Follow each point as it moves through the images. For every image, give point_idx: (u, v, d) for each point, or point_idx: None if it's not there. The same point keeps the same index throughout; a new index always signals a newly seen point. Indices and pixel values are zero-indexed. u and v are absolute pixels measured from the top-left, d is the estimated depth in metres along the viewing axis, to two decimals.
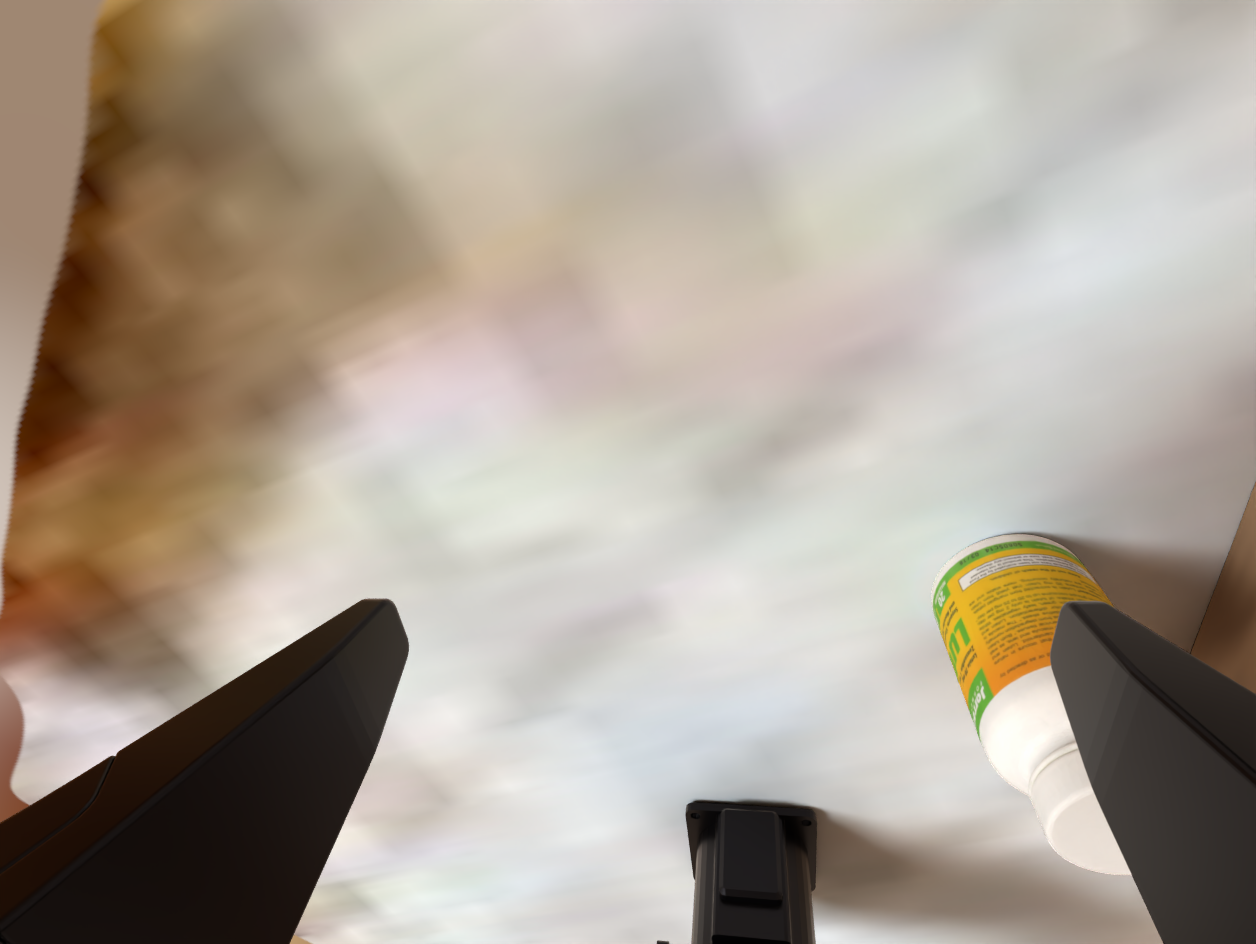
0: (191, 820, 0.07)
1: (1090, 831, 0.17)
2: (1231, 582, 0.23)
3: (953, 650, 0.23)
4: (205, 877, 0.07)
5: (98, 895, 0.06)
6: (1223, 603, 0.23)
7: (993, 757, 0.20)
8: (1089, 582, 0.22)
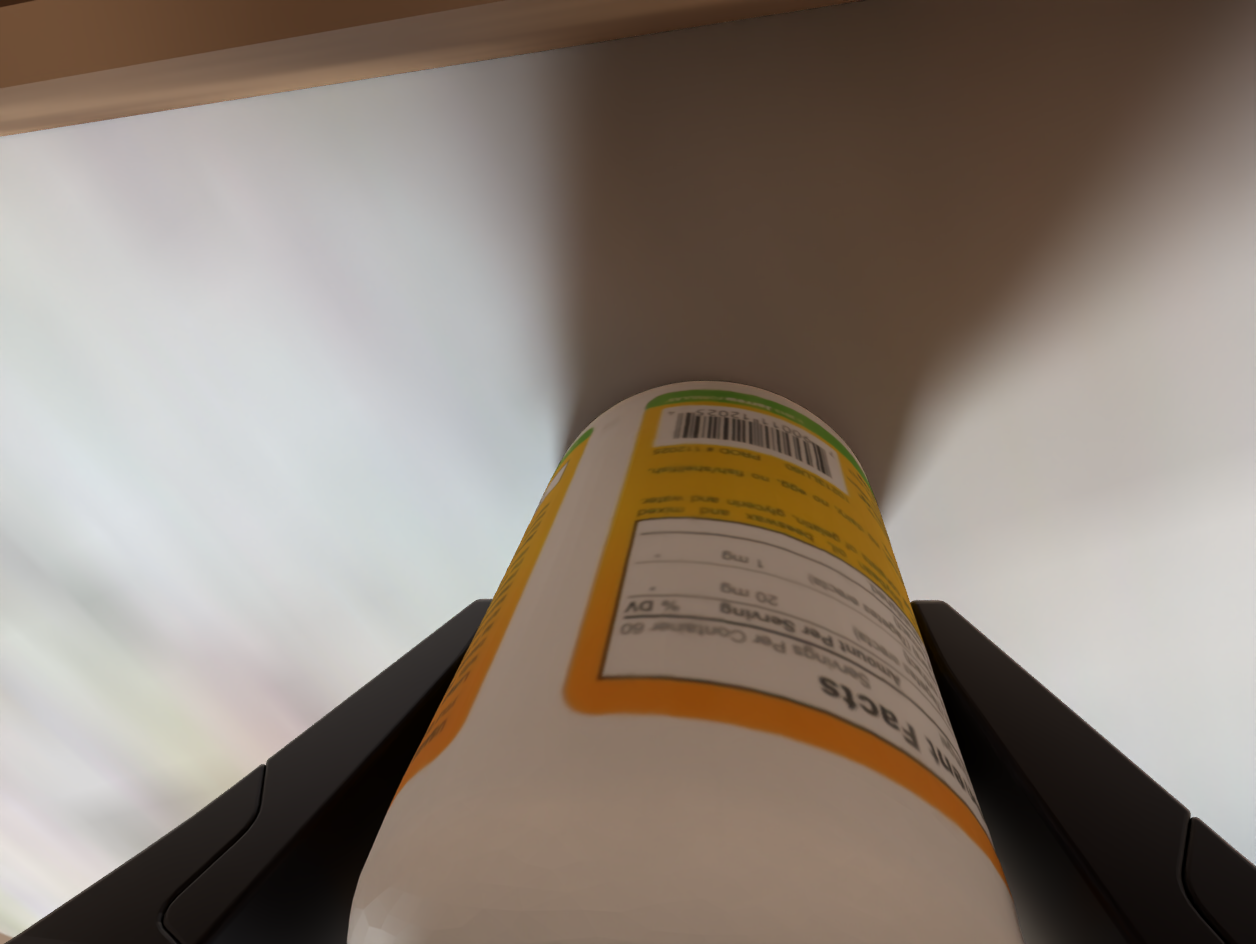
0: (349, 831, 0.06)
1: None
2: (604, 36, 0.08)
3: None
4: None
5: (279, 913, 0.05)
6: (687, 22, 0.07)
7: None
8: None
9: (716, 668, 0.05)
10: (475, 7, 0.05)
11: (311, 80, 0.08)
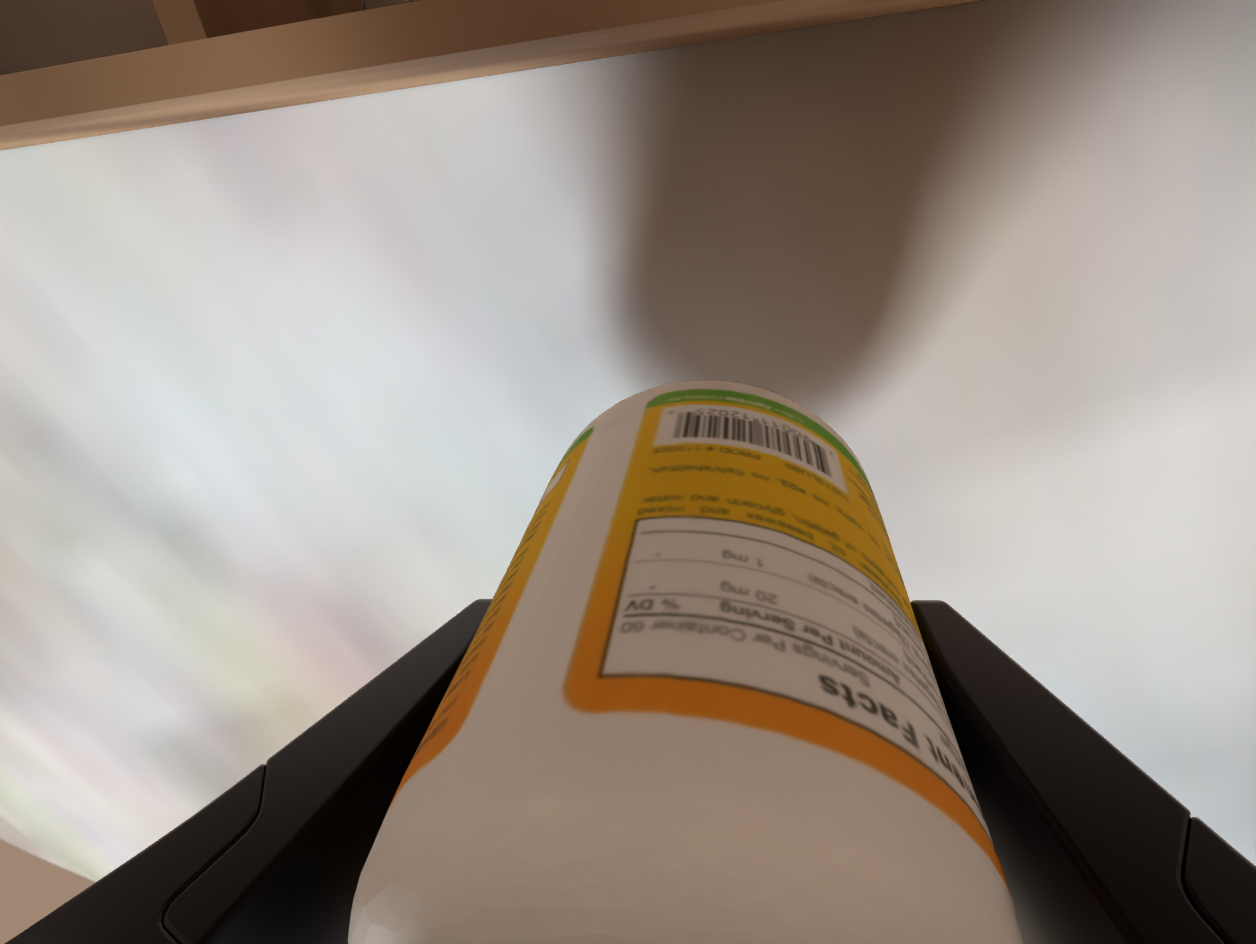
0: (348, 830, 0.06)
1: None
2: (635, 50, 0.10)
3: None
4: None
5: (279, 913, 0.05)
6: (699, 39, 0.10)
7: None
8: (528, 526, 0.09)
9: (718, 667, 0.05)
10: (560, 36, 0.07)
11: (404, 84, 0.10)
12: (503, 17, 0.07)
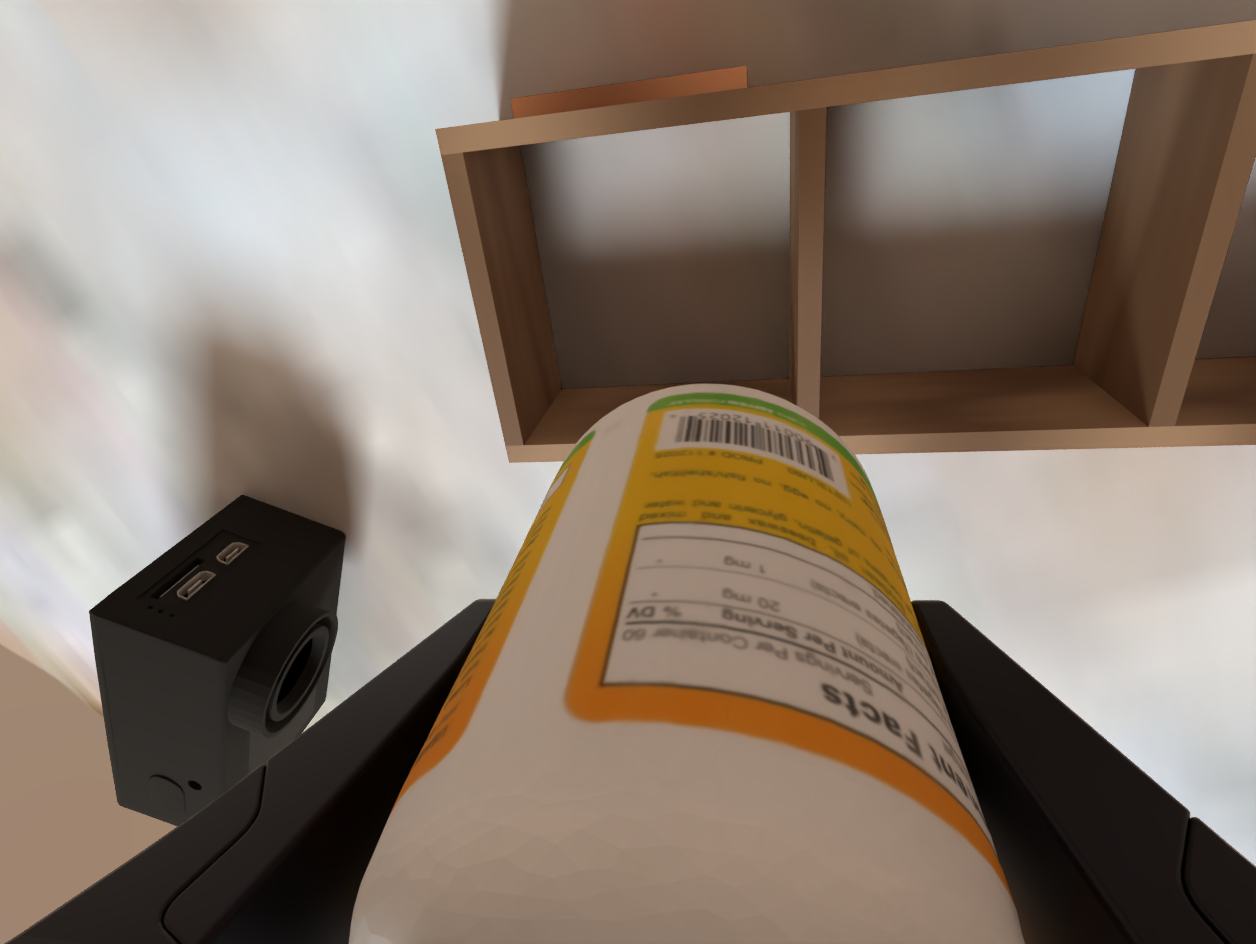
0: (348, 831, 0.06)
1: None
2: None
3: None
4: None
5: (279, 914, 0.05)
6: None
7: None
8: (529, 530, 0.09)
9: (719, 676, 0.05)
10: (993, 449, 0.15)
11: None
12: (970, 442, 0.15)
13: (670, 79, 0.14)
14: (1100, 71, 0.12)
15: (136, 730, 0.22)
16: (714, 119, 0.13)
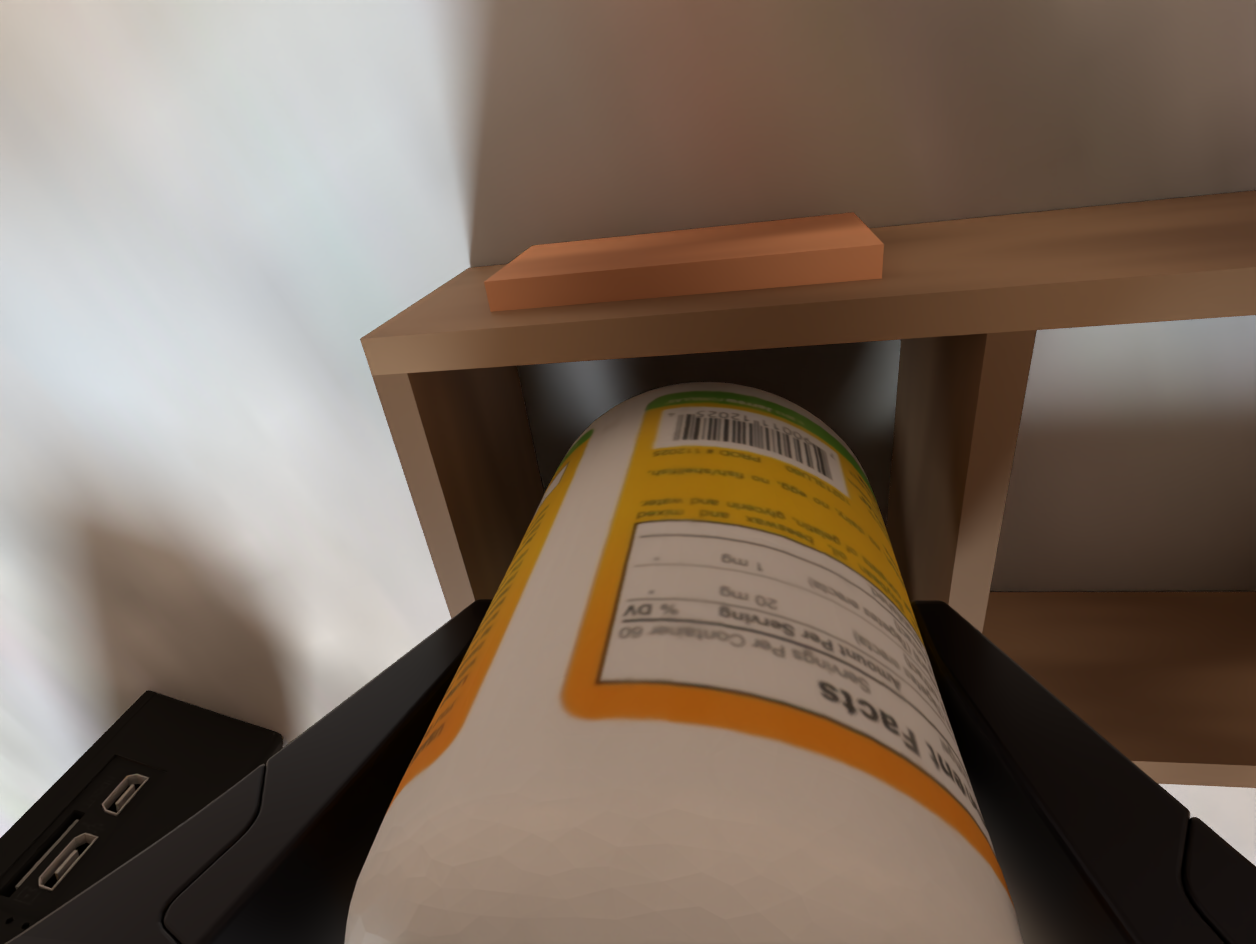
0: (348, 830, 0.06)
1: None
2: None
3: None
4: None
5: (279, 913, 0.05)
6: None
7: None
8: (527, 529, 0.09)
9: (716, 674, 0.05)
10: (1231, 782, 0.10)
11: None
12: (1197, 774, 0.10)
13: (751, 260, 0.08)
14: None
15: None
16: (834, 341, 0.08)
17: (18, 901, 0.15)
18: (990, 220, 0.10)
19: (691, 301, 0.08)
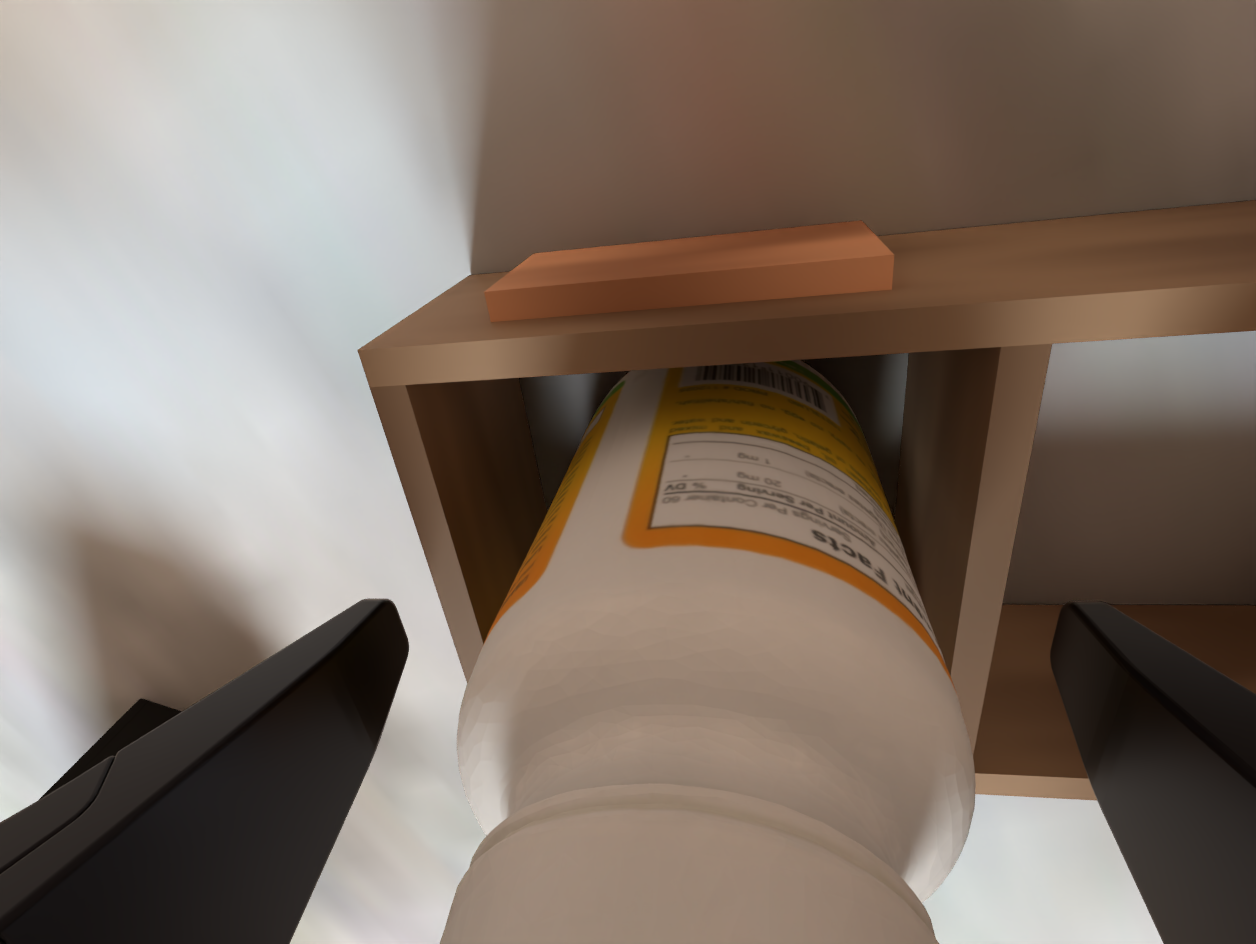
0: (191, 819, 0.07)
1: None
2: None
3: None
4: (205, 877, 0.07)
5: (98, 895, 0.06)
6: None
7: None
8: (572, 460, 0.11)
9: (736, 520, 0.06)
10: None
11: None
12: None
13: (758, 271, 0.08)
14: None
15: None
16: (843, 354, 0.07)
17: None
18: (1001, 228, 0.10)
19: (696, 312, 0.08)
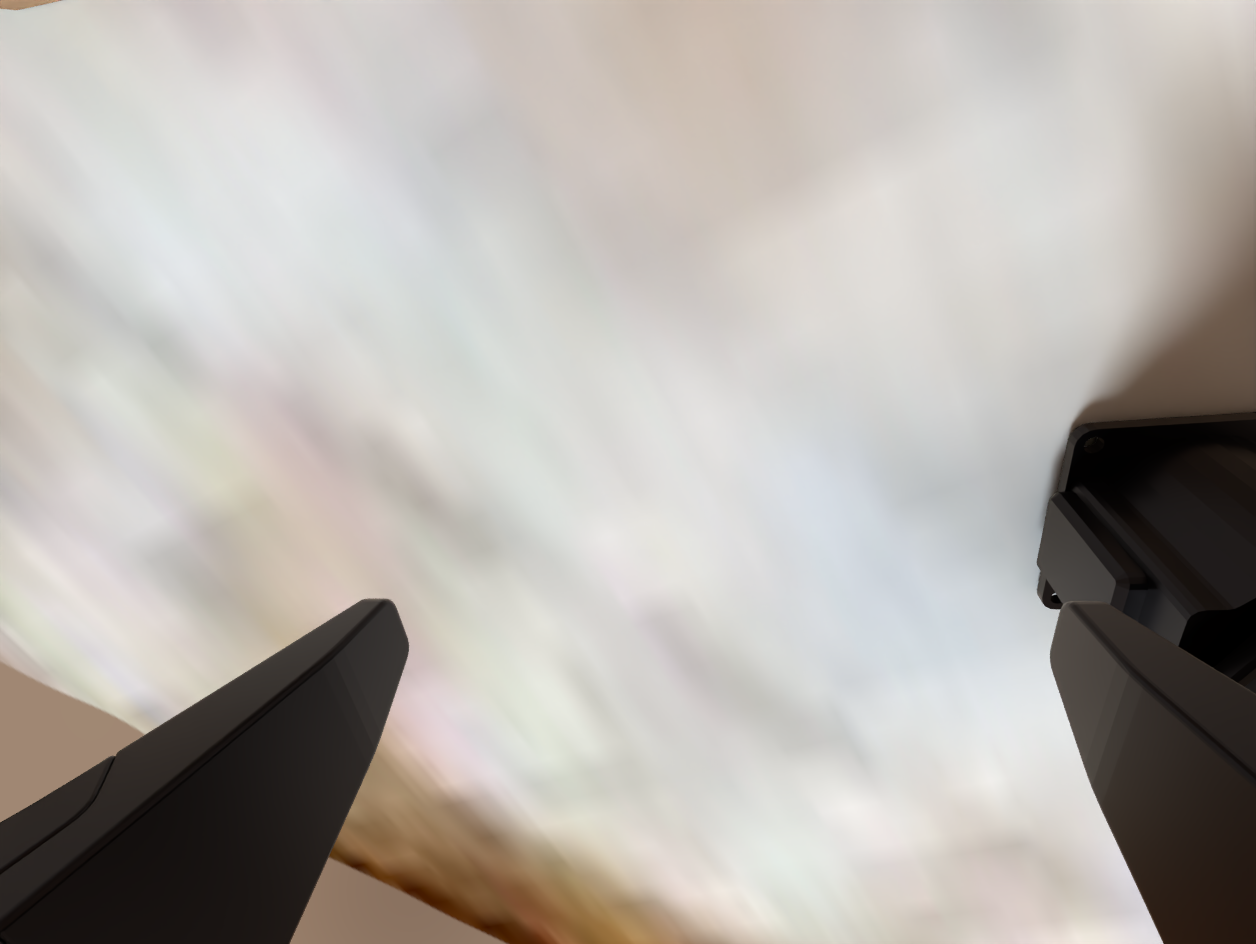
0: (191, 820, 0.07)
1: None
2: None
3: None
4: (205, 877, 0.07)
5: (98, 895, 0.06)
6: None
7: None
8: None
9: None
10: None
11: None
12: None
13: None
14: None
15: None
16: None
17: None
18: None
19: None
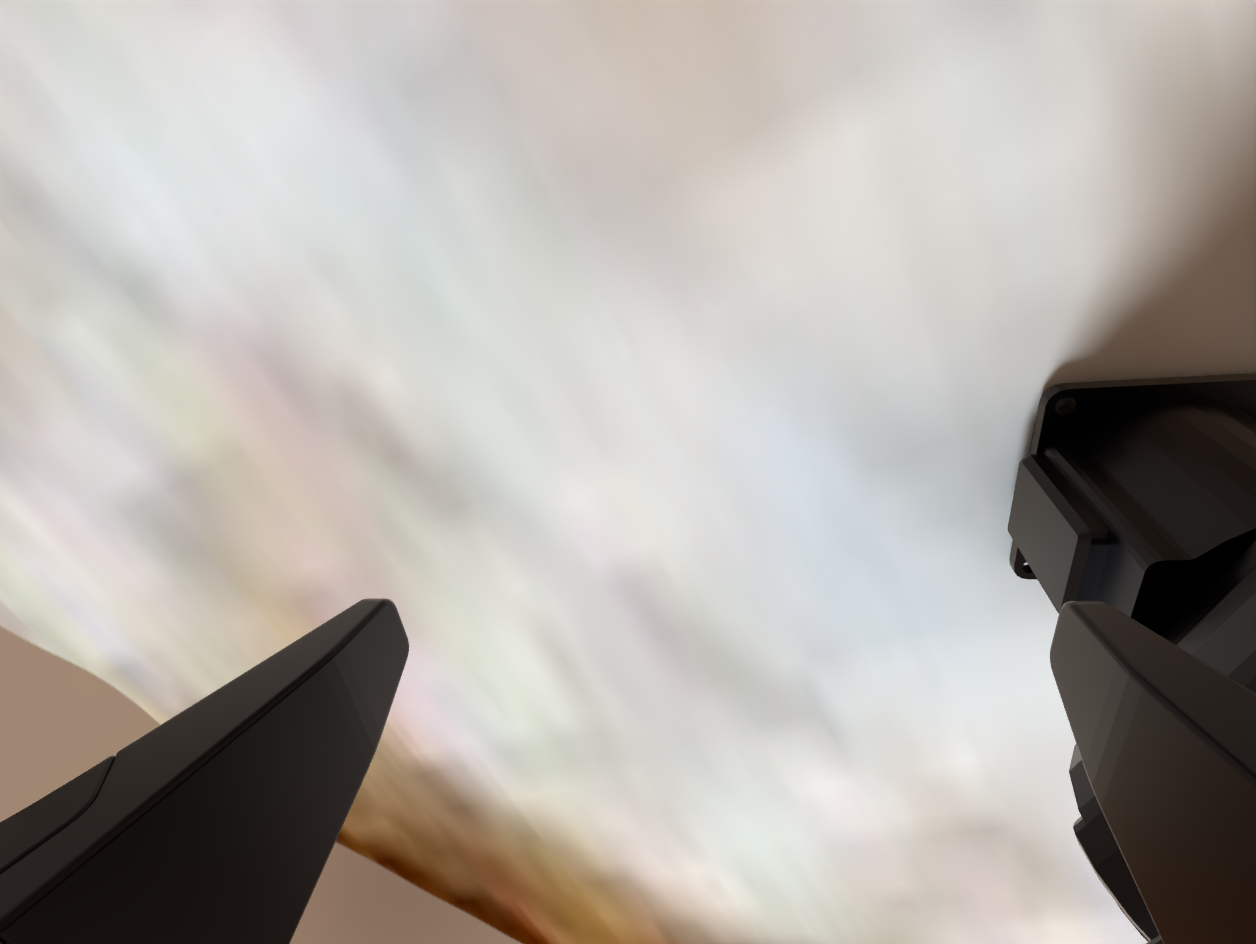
0: (191, 819, 0.07)
1: None
2: None
3: None
4: (205, 877, 0.07)
5: (98, 895, 0.06)
6: None
7: None
8: None
9: None
10: None
11: None
12: None
13: None
14: None
15: None
16: None
17: None
18: None
19: None
